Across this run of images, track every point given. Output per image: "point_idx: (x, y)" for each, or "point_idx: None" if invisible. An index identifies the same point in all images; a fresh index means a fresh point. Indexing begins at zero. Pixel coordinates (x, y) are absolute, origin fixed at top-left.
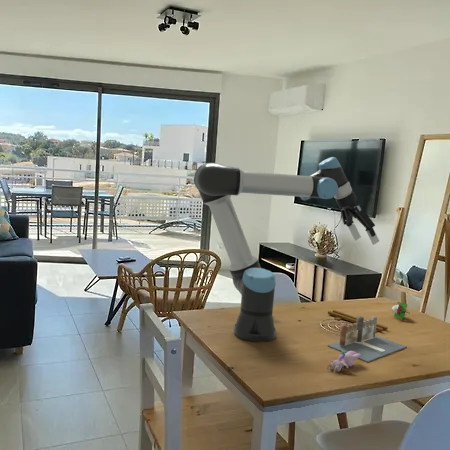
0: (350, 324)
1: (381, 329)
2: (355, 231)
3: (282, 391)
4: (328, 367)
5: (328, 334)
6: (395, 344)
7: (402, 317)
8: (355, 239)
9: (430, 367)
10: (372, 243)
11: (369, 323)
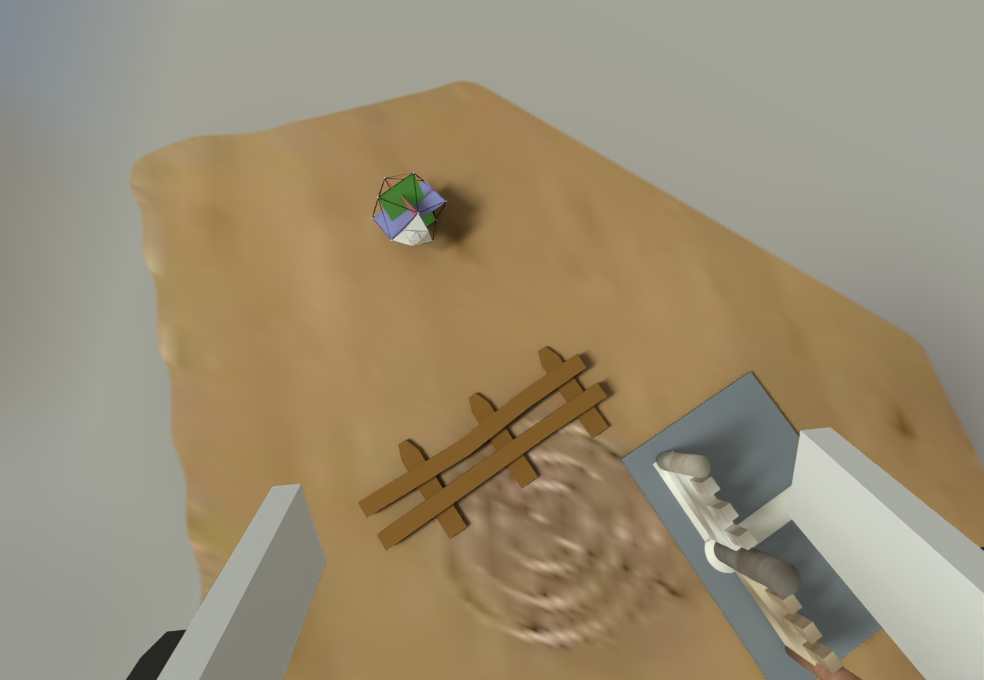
0: (807, 634)
1: (605, 394)
2: (255, 636)
3: None
4: None
5: (648, 644)
6: (737, 405)
7: (429, 219)
8: (320, 572)
9: (911, 380)
10: (804, 527)
11: (723, 502)
